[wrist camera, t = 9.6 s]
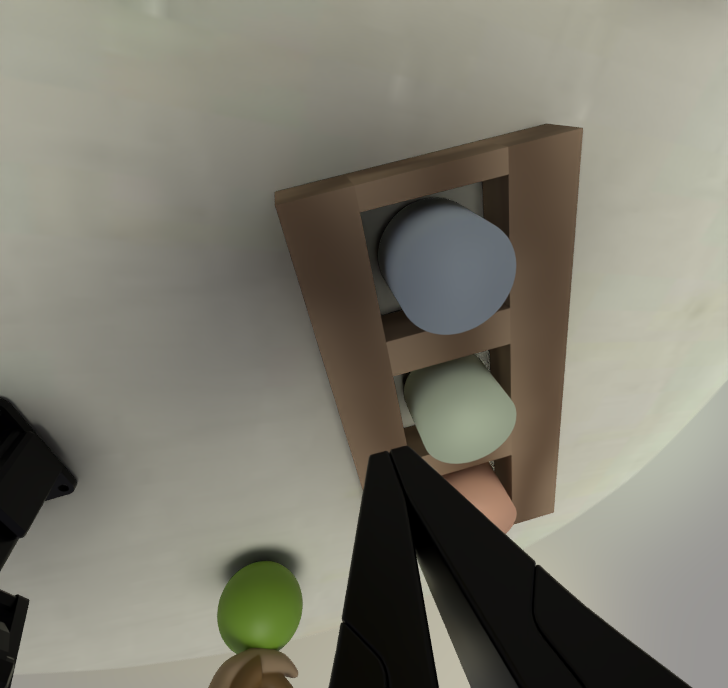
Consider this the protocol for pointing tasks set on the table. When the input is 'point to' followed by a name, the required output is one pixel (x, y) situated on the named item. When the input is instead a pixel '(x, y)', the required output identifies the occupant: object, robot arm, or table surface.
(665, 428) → the table surface
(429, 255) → the slate button
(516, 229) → the wooden compartment tray
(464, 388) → the sage button
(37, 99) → the table surface
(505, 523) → the terracotta button
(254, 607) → the snail figurine
